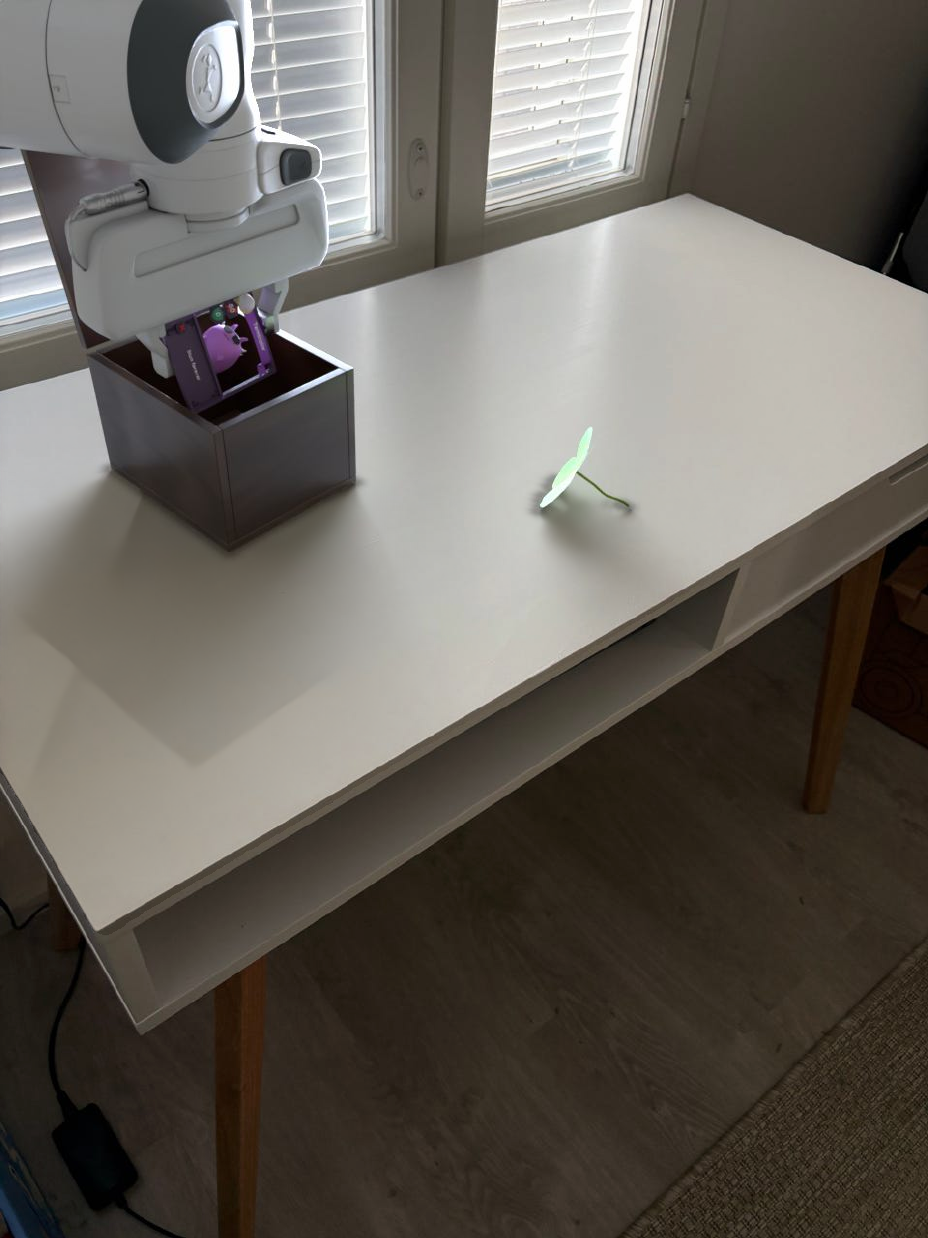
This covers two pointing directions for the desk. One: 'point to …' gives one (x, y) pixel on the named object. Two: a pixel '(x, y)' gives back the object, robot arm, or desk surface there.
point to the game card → (213, 352)
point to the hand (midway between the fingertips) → (219, 351)
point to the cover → (70, 209)
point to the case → (230, 434)
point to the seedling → (573, 472)
